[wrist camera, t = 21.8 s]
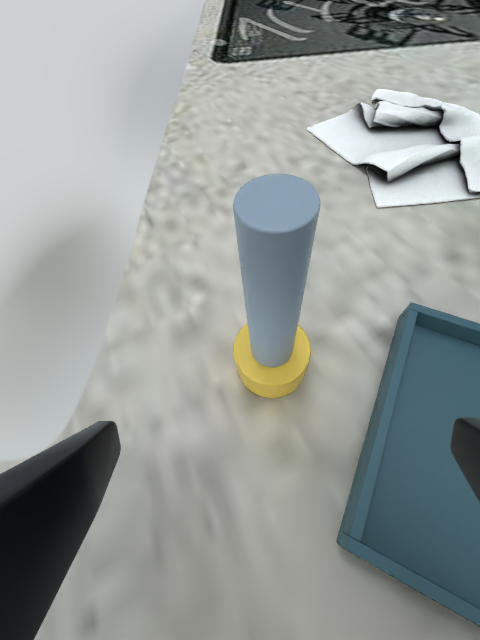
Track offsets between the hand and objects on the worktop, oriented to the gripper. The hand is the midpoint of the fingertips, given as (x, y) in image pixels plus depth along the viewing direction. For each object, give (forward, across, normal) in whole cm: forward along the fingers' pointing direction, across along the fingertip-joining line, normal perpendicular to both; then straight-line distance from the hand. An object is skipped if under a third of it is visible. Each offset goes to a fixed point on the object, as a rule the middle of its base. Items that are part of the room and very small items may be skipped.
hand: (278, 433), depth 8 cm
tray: (+8, -12, +8) cm, 16 cm away
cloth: (+30, -16, -14) cm, 37 cm away
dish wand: (+13, 0, +4) cm, 13 cm away
